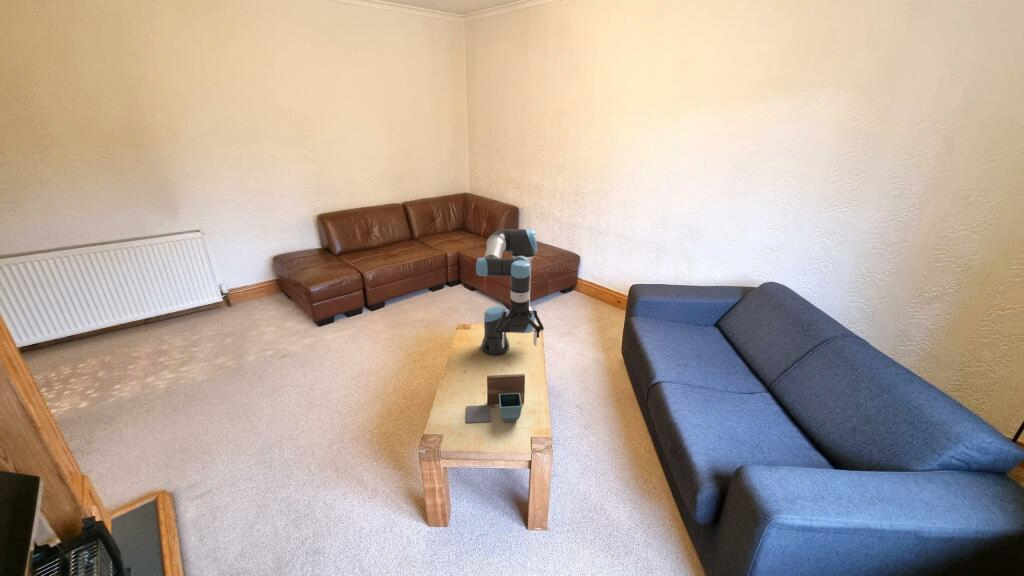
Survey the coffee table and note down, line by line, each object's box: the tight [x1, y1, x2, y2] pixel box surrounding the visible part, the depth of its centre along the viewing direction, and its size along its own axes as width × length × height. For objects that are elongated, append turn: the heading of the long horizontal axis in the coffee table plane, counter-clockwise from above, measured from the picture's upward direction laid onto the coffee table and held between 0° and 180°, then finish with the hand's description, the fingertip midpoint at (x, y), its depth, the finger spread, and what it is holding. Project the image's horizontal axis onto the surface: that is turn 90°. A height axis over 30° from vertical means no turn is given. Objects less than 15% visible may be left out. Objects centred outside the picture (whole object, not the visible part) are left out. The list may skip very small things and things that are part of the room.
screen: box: [486, 373, 526, 409], centre depth 170 cm, size 6×16×14 cm, turn 95°
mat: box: [465, 404, 492, 424], centre depth 165 cm, size 10×10×1 cm
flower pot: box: [499, 393, 523, 423], centre depth 162 cm, size 9×9×9 cm
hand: (519, 345), depth 167 cm, fingers open, 13 cm apart
